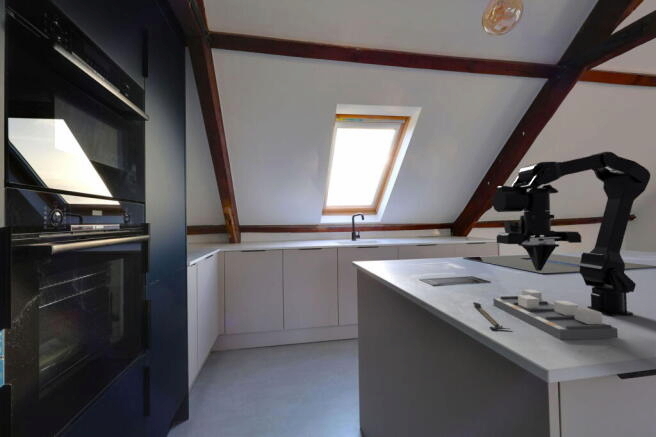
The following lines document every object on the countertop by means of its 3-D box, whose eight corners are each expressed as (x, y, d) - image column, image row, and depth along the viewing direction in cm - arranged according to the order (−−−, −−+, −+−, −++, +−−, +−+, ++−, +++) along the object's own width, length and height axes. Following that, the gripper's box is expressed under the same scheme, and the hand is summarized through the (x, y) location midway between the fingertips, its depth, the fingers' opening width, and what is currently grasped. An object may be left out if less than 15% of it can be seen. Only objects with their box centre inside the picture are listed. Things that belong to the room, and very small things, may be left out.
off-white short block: (587, 318, 67) (587, 307, 67) (602, 324, 63) (602, 312, 63) (574, 318, 67) (574, 308, 67) (588, 324, 63) (588, 313, 63)
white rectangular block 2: (566, 310, 73) (566, 300, 73) (578, 315, 69) (578, 304, 69) (554, 310, 73) (554, 301, 73) (566, 315, 69) (565, 305, 69)
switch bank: (534, 304, 86) (534, 295, 86) (617, 338, 61) (617, 325, 61) (493, 305, 86) (493, 296, 86) (560, 339, 61) (559, 327, 61)
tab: (529, 304, 79) (529, 295, 79) (539, 308, 75) (538, 298, 75) (518, 304, 79) (517, 295, 79) (527, 308, 75) (526, 299, 75)
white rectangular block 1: (532, 297, 85) (532, 289, 85) (541, 301, 81) (541, 292, 81) (522, 298, 85) (522, 289, 85) (531, 301, 81) (530, 292, 81)
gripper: (549, 211, 85) (550, 265, 85) (484, 213, 85) (486, 266, 85) (582, 209, 74) (584, 271, 74) (508, 211, 74) (510, 273, 74)
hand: (538, 270), depth 77 cm, fingers closed
